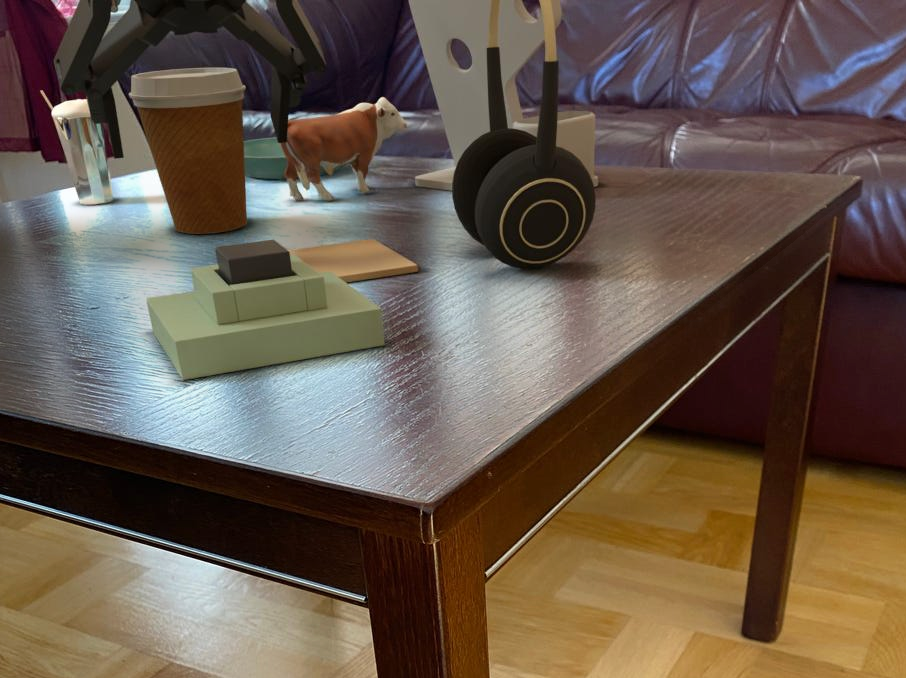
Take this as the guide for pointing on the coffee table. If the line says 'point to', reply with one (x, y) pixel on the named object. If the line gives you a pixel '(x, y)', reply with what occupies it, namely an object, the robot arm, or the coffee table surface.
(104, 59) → the robot arm
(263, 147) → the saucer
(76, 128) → the milkshake
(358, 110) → the bull figurine
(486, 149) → the headphones
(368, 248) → the coaster
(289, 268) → the key
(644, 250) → the coffee table surface
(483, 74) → the phone holder
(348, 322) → the tiered green pedestal
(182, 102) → the disposable coffee cup
